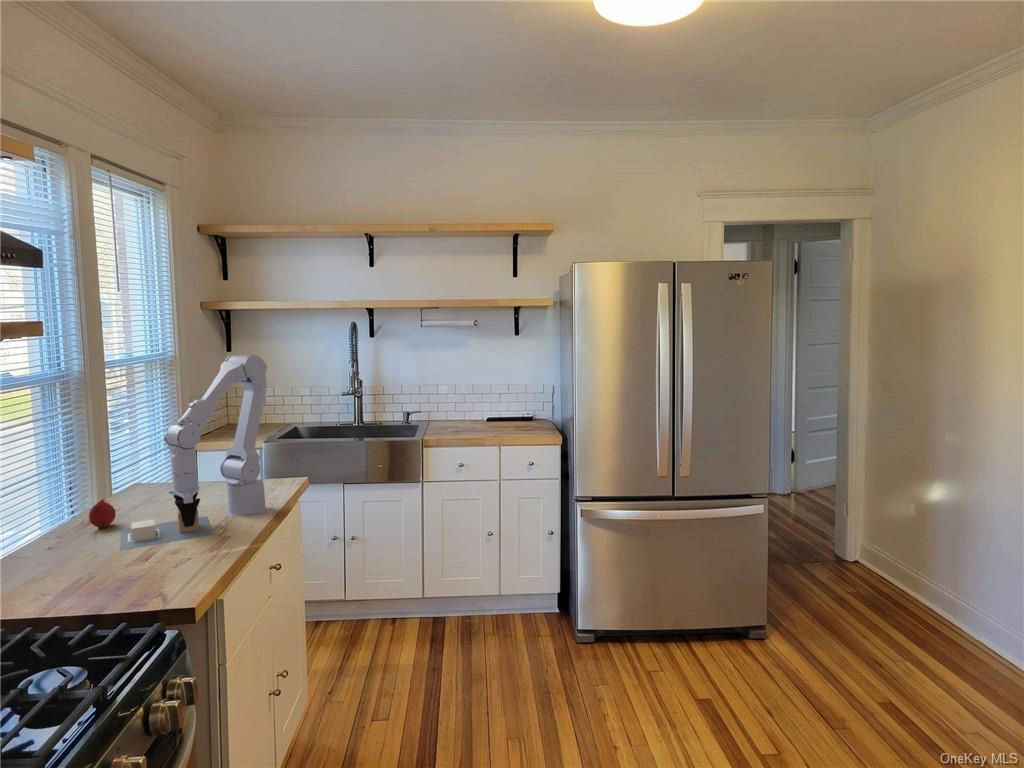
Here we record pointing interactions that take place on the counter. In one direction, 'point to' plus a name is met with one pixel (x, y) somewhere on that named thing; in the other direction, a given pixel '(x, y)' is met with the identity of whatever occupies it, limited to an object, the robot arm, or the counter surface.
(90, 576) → the counter surface
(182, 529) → the terracotta block
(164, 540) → the board
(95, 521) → the onion
